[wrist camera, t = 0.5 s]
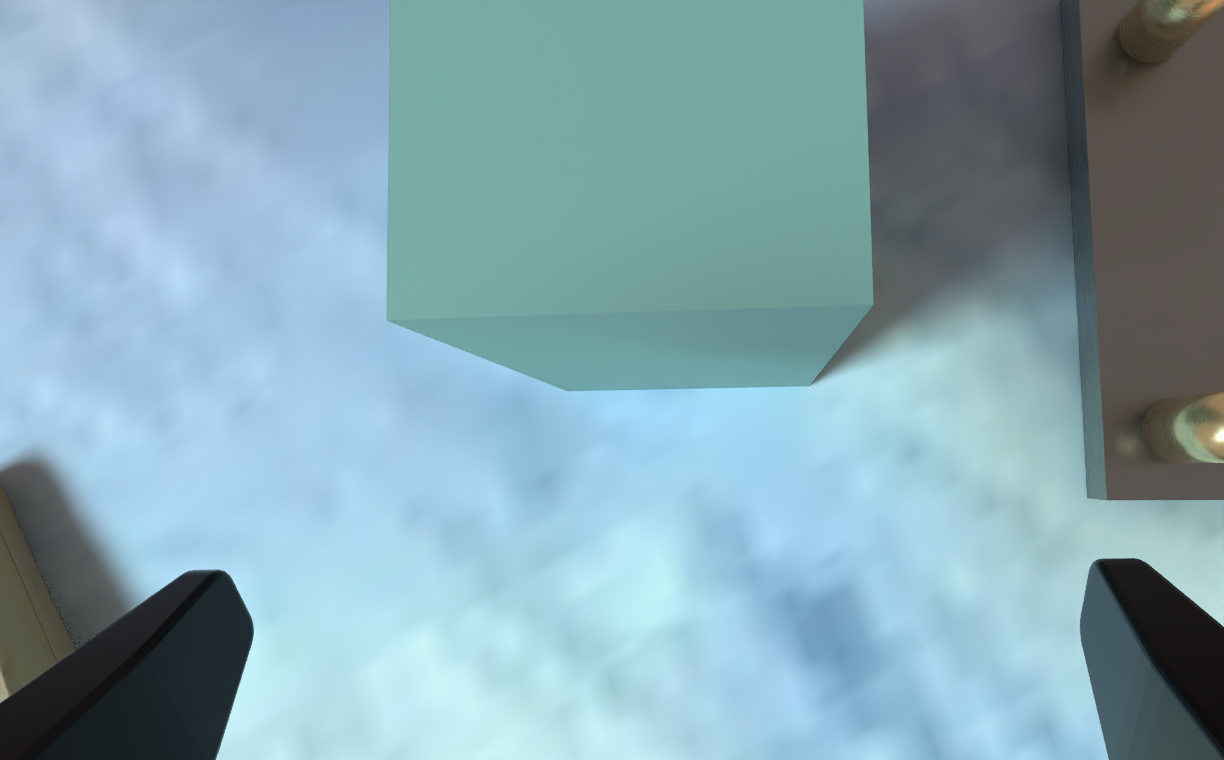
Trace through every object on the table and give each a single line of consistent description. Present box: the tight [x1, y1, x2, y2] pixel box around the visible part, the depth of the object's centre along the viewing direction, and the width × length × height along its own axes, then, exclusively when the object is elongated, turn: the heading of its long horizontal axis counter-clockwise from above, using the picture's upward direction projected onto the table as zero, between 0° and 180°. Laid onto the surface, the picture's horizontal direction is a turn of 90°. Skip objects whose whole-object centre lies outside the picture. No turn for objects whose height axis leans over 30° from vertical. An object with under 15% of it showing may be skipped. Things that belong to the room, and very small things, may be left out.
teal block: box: [387, 0, 874, 391], centre depth 18 cm, size 6×6×12 cm
